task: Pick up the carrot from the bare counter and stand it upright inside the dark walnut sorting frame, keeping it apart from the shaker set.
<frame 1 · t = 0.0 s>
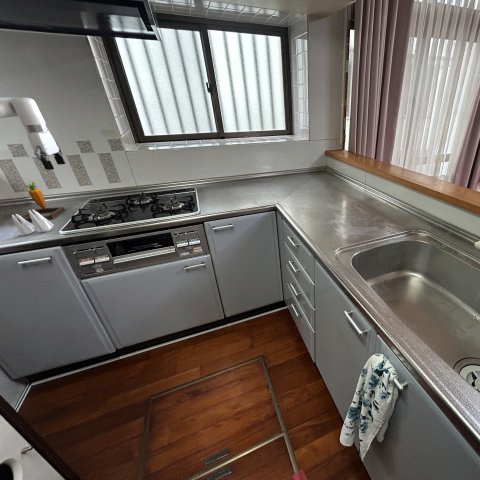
hand: (56, 166, 128), 25 cm above the worktop, tool pointing down, fingers open, 9 cm apart
carrot: (44, 209, 148), on the worktop
shaker set: (38, 232, 124), on the worktop
sorting frame: (43, 215, 140), on the worktop
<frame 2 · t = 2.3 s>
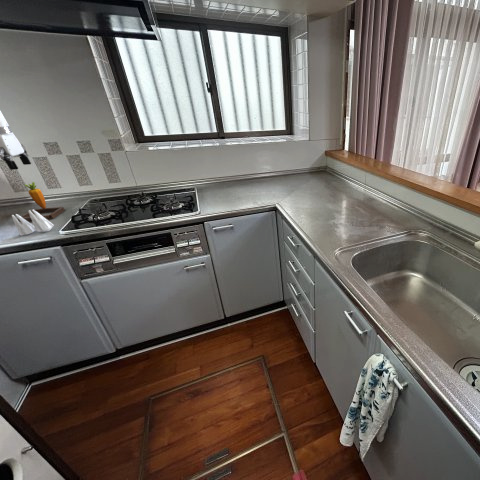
hand: (21, 166, 136), 23 cm above the worktop, tool pointing down, fingers open, 9 cm apart
nothing on the worktop moved.
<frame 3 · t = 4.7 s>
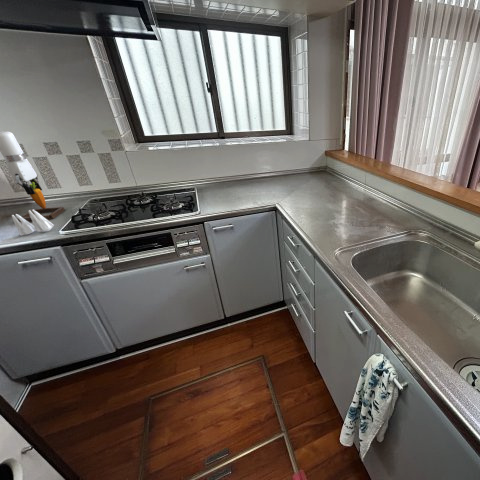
hand: (35, 192, 143), 10 cm above the worktop, tool pointing down, fingers closed on carrot, 5 cm apart
carrot: (44, 209, 148), on the worktop, touching gripper
everything else where it was.
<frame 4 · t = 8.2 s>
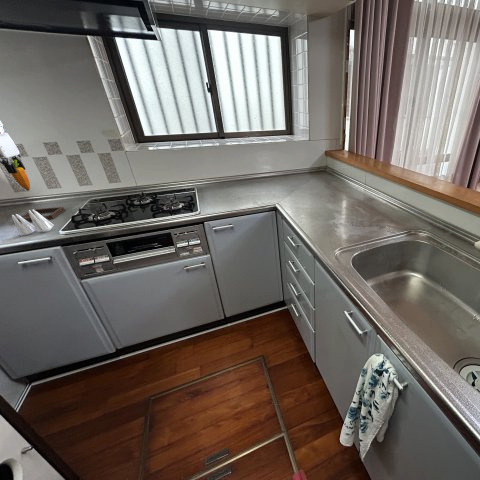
hand: (17, 171, 128), 24 cm above the worktop, tool pointing down, fingers closed on carrot, 5 cm apart
carrot: (29, 190, 133), point 14 cm above the worktop, touching gripper
everything else where it was.
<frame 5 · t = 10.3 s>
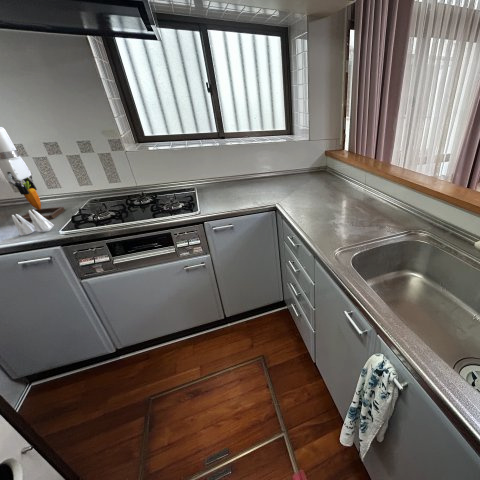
hand: (29, 191, 133), 13 cm above the worktop, tool pointing down, fingers closed on carrot, 5 cm apart
carrot: (40, 210, 138), point 3 cm above the worktop, touching gripper
everything else where it was.
when the fingers open (10 cm above the worktop, at t = 11.6 s): carrot stays where it is, resting in sorting frame.
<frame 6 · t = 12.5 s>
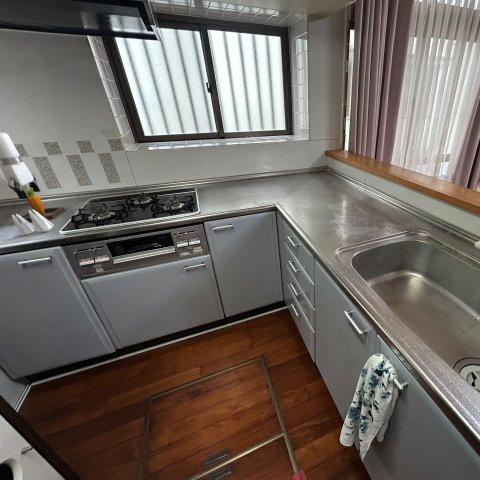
hand: (30, 195, 134), 12 cm above the worktop, tool pointing down, fingers open, 9 cm apart
carrot: (43, 216, 140), resting in sorting frame
everything else where it was.
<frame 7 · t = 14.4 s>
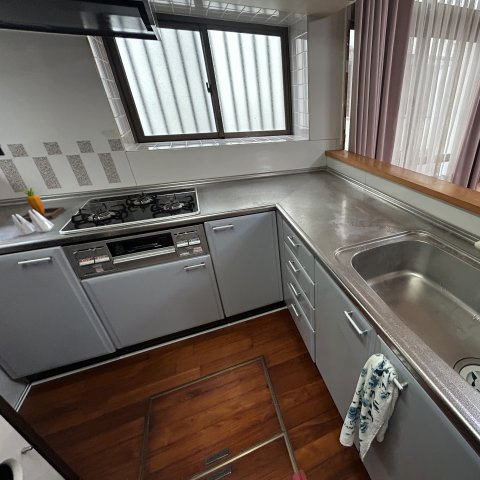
nothing on the worktop moved.
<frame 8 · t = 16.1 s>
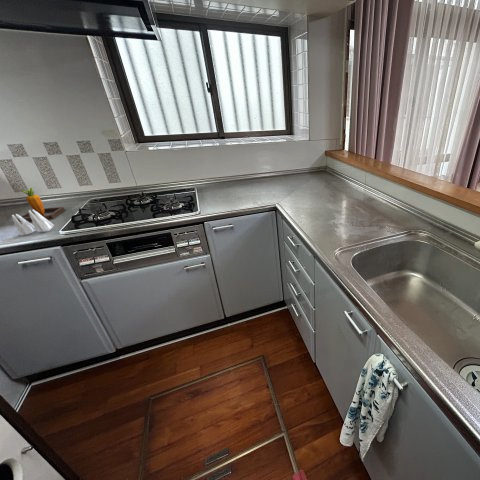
nothing on the worktop moved.
at the end: carrot inside the target area (0.0 cm from its centre), resting in sorting frame; carrot tilted 0°; shaker set moved 0.2 cm from its start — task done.
